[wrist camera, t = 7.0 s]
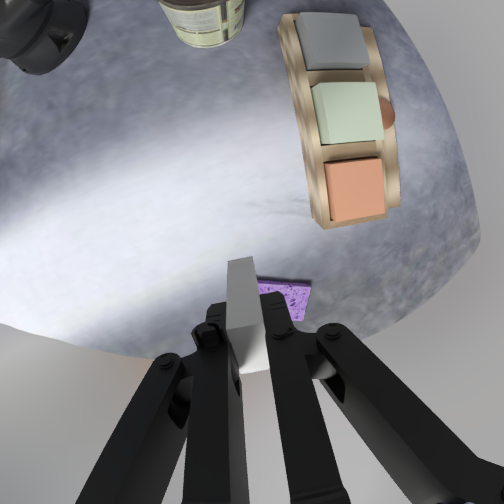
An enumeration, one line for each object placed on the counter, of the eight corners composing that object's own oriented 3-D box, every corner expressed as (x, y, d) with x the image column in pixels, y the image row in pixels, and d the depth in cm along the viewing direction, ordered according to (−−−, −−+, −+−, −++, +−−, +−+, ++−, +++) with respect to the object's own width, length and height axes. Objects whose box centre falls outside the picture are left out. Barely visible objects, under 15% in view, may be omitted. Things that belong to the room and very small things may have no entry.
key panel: (276, 30, 30) (283, 14, 24) (366, 31, 29) (383, 19, 24) (312, 217, 41) (324, 230, 36) (394, 203, 41) (414, 212, 35)
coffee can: (175, 0, 26) (155, -46, 13) (243, -5, 27) (248, -55, 14) (172, 52, 30) (144, 14, 17) (243, 47, 31) (249, 4, 18)
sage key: (308, 90, 30) (319, 82, 26) (358, 88, 30) (375, 82, 26) (317, 143, 33) (330, 143, 28) (367, 138, 33) (384, 139, 28)
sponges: (300, 315, 49) (302, 321, 47) (231, 311, 47) (231, 317, 46) (309, 281, 46) (311, 287, 44) (235, 275, 45) (235, 281, 43)
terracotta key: (317, 161, 35) (329, 164, 31) (364, 156, 35) (381, 158, 31) (324, 212, 38) (336, 222, 34) (368, 204, 38) (384, 213, 34)
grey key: (292, 26, 26) (300, 12, 22) (342, 27, 26) (356, 14, 22) (304, 72, 29) (314, 62, 25) (354, 71, 29) (370, 63, 25)
